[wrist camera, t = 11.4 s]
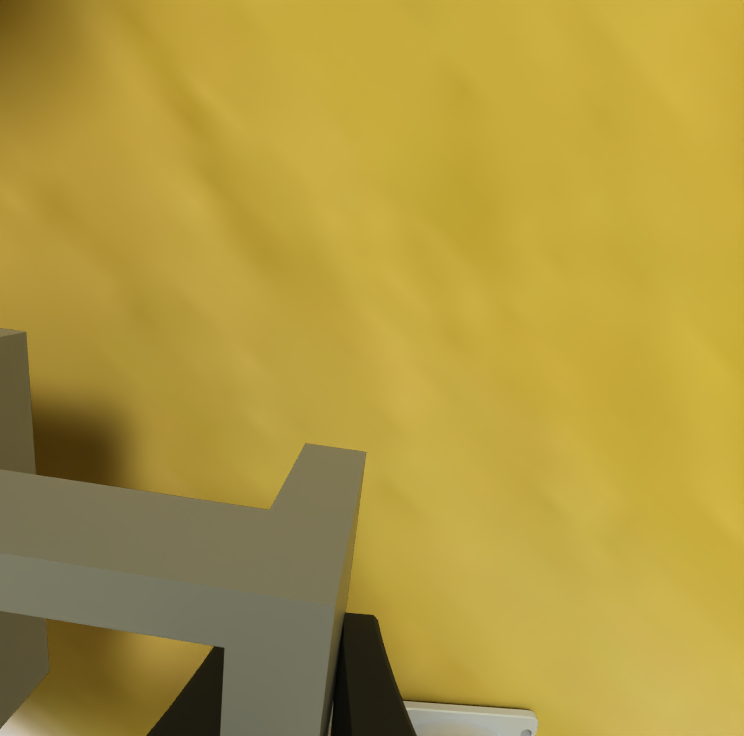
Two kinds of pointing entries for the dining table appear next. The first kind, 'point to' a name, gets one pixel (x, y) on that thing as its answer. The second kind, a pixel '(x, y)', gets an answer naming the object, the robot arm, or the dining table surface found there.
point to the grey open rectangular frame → (179, 571)
